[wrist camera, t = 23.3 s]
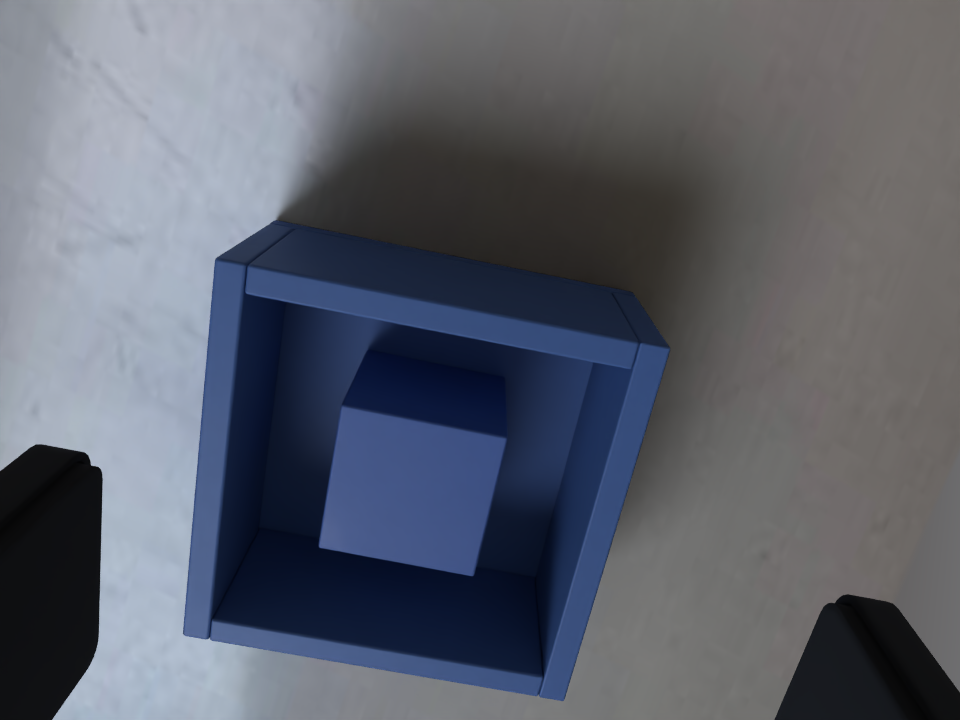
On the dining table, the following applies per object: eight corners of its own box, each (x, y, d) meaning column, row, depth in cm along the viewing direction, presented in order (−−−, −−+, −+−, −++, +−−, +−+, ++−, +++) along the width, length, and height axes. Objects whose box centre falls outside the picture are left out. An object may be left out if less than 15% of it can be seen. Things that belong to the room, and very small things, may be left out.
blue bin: (633, 291, 25) (671, 348, 20) (550, 588, 29) (564, 702, 23) (274, 219, 24) (214, 257, 19) (240, 532, 28) (181, 636, 23)
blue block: (506, 376, 25) (508, 437, 21) (477, 497, 27) (474, 577, 22) (366, 348, 25) (340, 404, 21) (346, 472, 26) (317, 548, 22)
